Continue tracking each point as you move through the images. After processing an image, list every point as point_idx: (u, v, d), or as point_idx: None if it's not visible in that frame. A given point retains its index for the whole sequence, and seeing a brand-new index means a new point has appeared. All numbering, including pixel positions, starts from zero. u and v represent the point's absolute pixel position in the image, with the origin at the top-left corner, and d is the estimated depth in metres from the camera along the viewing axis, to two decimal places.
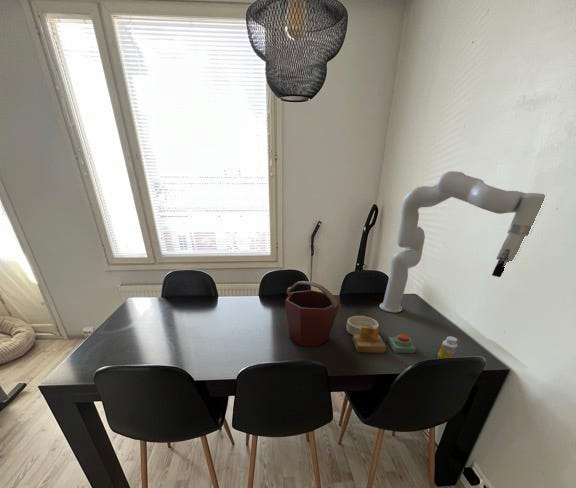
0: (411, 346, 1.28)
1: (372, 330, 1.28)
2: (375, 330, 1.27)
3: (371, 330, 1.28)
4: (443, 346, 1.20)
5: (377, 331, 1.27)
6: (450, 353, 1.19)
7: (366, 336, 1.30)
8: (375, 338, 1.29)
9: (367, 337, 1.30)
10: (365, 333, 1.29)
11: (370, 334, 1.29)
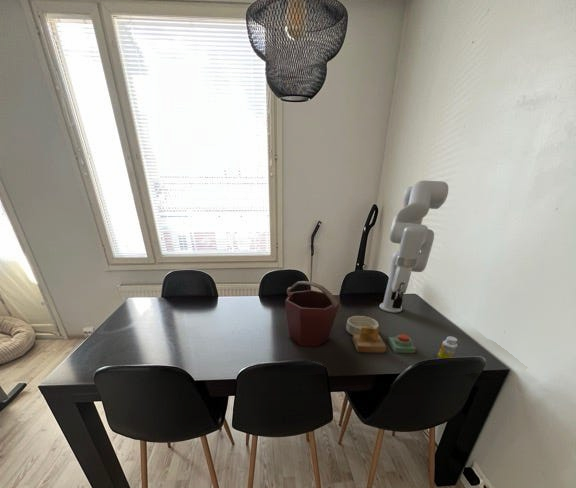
0: (411, 346, 1.28)
1: (372, 330, 1.28)
2: (375, 330, 1.27)
3: (371, 330, 1.28)
4: (443, 346, 1.20)
5: (377, 331, 1.27)
6: (450, 353, 1.19)
7: (366, 336, 1.30)
8: (375, 338, 1.29)
9: (367, 337, 1.30)
10: (365, 333, 1.29)
11: (370, 334, 1.29)
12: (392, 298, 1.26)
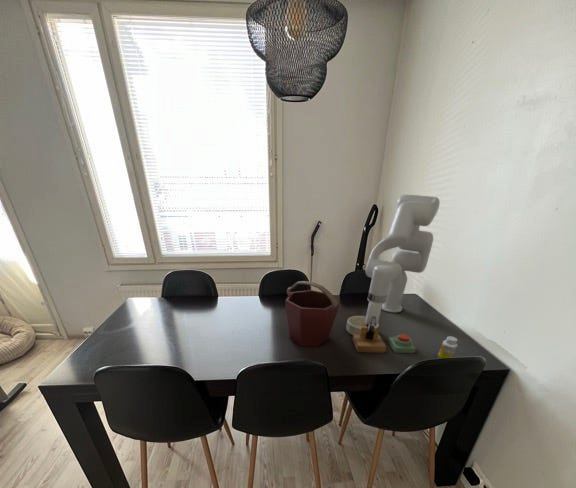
0: (411, 346, 1.28)
1: None
2: (375, 330, 1.27)
3: None
4: (443, 346, 1.20)
5: (377, 331, 1.27)
6: (450, 353, 1.19)
7: None
8: (375, 338, 1.29)
9: None
10: (365, 333, 1.29)
11: None
12: None
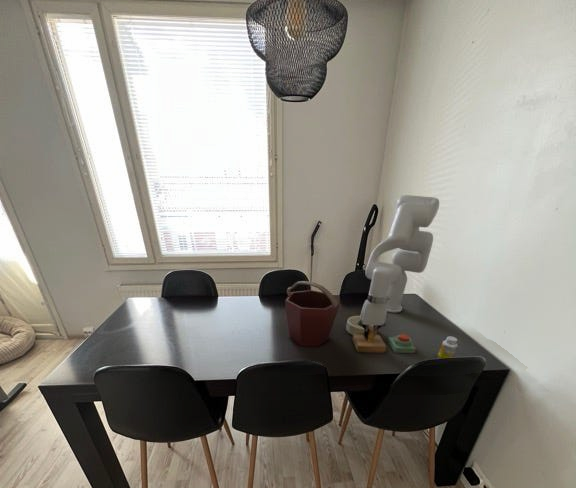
0: (411, 346, 1.28)
1: (368, 330, 1.28)
2: (369, 331, 1.27)
3: (368, 330, 1.28)
4: (443, 346, 1.20)
5: (369, 332, 1.26)
6: (450, 353, 1.19)
7: None
8: (368, 339, 1.28)
9: None
10: None
11: None
12: None
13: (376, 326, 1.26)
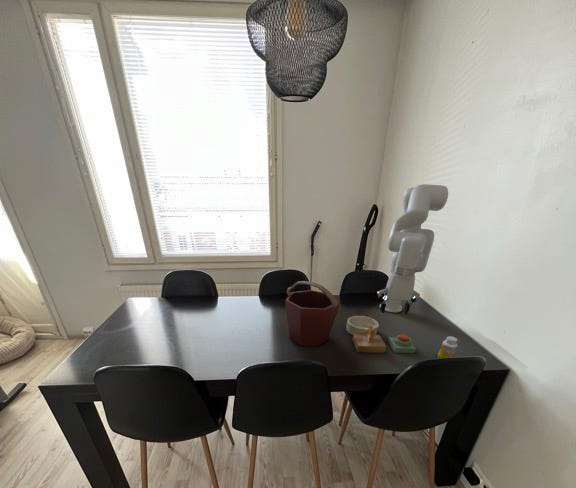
0: (411, 346, 1.28)
1: (368, 330, 1.28)
2: (369, 331, 1.27)
3: (368, 330, 1.28)
4: (443, 346, 1.20)
5: (369, 332, 1.26)
6: (450, 353, 1.19)
7: (366, 334, 1.31)
8: (368, 339, 1.28)
9: (366, 336, 1.31)
10: (366, 331, 1.31)
11: (367, 333, 1.29)
12: (403, 310, 1.24)
13: (408, 300, 1.19)
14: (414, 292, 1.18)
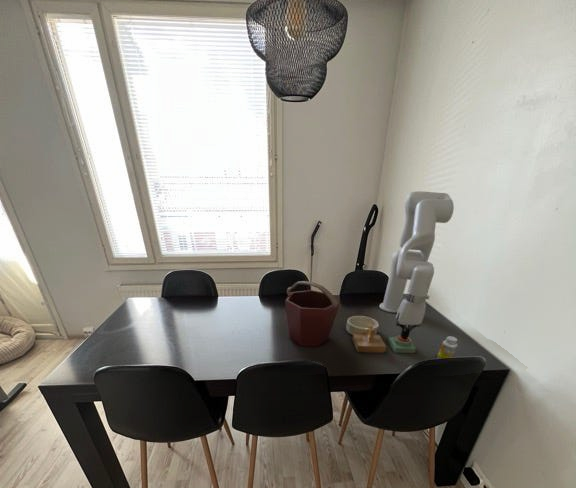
0: (411, 346, 1.28)
1: (368, 330, 1.28)
2: (369, 331, 1.27)
3: (368, 330, 1.28)
4: (443, 346, 1.20)
5: (369, 332, 1.26)
6: (450, 353, 1.19)
7: (366, 334, 1.31)
8: (368, 339, 1.28)
9: (366, 336, 1.31)
10: (366, 331, 1.31)
11: (367, 333, 1.29)
12: None
13: (412, 326, 1.24)
14: None
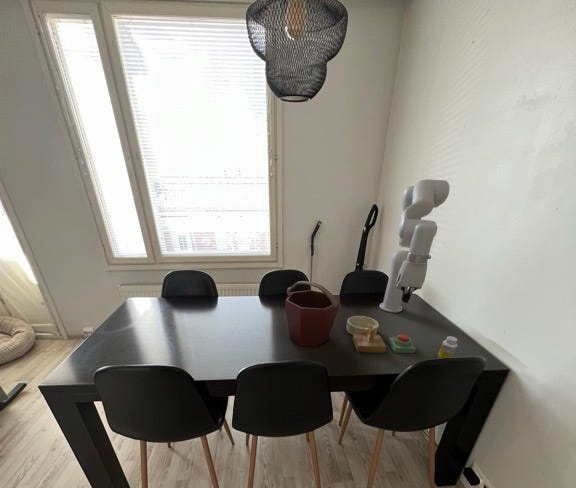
0: (411, 346, 1.28)
1: (368, 330, 1.28)
2: (369, 331, 1.27)
3: (368, 330, 1.28)
4: (443, 346, 1.20)
5: (369, 332, 1.26)
6: (450, 353, 1.19)
7: (366, 334, 1.31)
8: (368, 339, 1.28)
9: (366, 336, 1.31)
10: (366, 331, 1.31)
11: (367, 333, 1.29)
12: None
13: (413, 288, 1.22)
14: None
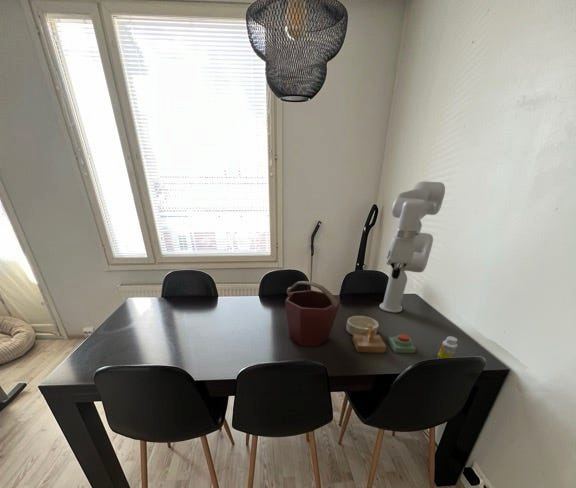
0: (411, 346, 1.28)
1: (368, 330, 1.28)
2: (369, 331, 1.27)
3: (368, 330, 1.28)
4: (443, 346, 1.20)
5: (369, 332, 1.26)
6: (450, 353, 1.19)
7: (366, 334, 1.31)
8: (368, 339, 1.28)
9: (366, 336, 1.31)
10: (366, 331, 1.31)
11: (367, 333, 1.29)
12: None
13: (402, 264, 1.28)
14: None
